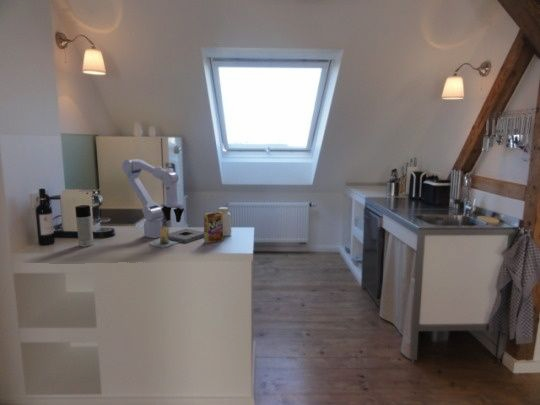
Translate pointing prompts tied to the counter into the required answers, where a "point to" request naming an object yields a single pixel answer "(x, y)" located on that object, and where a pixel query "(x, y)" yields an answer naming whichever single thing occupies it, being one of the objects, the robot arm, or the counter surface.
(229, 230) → the pill bottle
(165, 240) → the end plug
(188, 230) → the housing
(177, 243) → the mat
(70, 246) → the counter surface
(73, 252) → the counter surface
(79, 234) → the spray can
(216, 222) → the candy box
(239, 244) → the counter surface
